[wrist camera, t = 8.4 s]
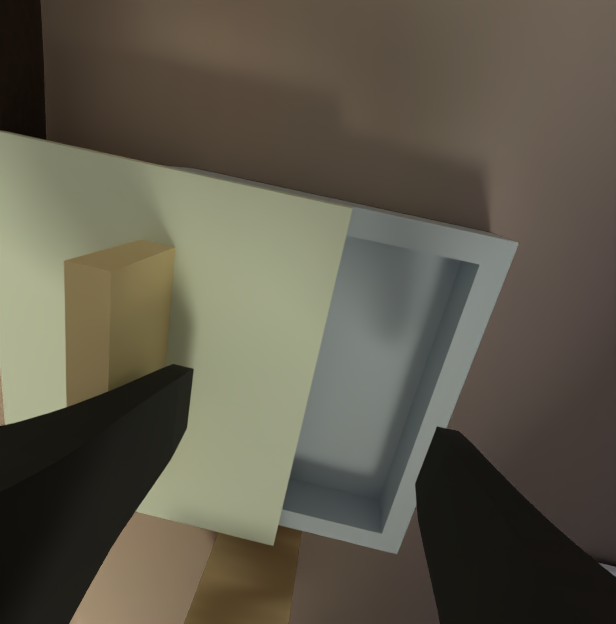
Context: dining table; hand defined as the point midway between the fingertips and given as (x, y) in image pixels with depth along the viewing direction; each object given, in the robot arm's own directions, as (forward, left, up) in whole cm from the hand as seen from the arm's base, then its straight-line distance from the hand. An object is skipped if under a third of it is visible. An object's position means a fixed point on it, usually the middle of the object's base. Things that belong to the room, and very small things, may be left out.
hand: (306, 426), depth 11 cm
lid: (+5, 0, -2) cm, 5 cm away
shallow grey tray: (0, 0, -4) cm, 4 cm away
